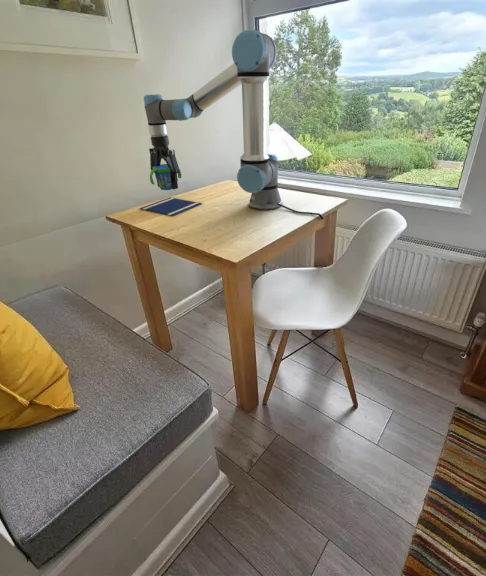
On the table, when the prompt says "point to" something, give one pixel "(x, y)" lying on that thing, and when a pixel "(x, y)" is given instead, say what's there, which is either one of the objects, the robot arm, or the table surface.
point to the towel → (171, 206)
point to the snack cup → (163, 176)
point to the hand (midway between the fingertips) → (167, 187)
